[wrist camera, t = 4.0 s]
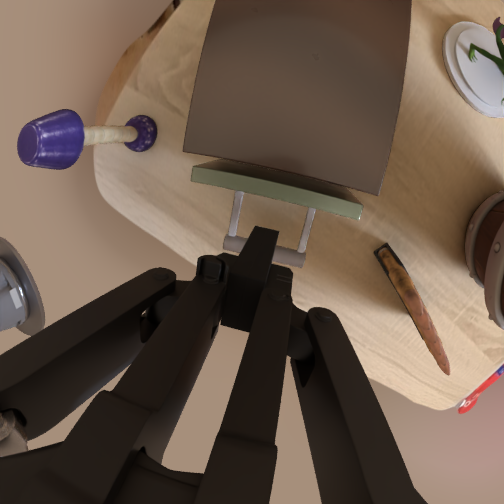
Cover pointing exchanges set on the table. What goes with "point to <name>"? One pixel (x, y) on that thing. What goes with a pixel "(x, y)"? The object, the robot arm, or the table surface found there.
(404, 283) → the ammunition clip
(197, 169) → the drawer
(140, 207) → the table surface
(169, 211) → the table surface
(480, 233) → the flowerpot
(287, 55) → the cabinet
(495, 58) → the monster figurine
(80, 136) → the toy lamp
